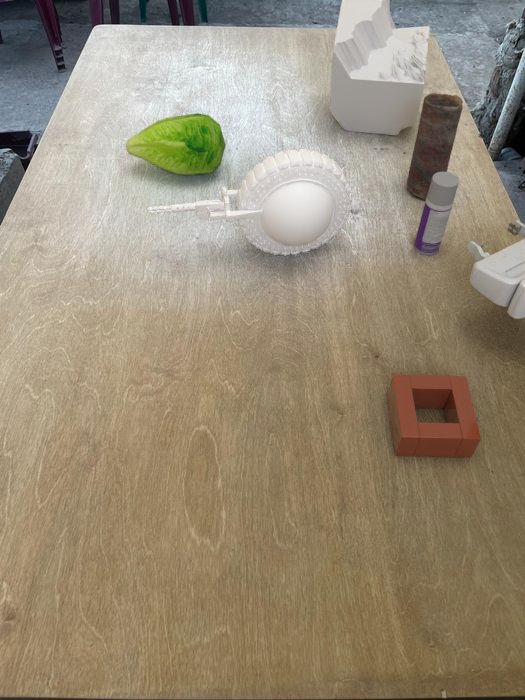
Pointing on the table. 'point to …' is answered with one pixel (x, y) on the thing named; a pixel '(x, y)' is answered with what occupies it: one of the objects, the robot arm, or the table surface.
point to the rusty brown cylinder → (433, 140)
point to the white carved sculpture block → (376, 69)
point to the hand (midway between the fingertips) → (491, 233)
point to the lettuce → (181, 144)
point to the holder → (432, 437)
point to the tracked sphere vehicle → (283, 203)
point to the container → (436, 212)
